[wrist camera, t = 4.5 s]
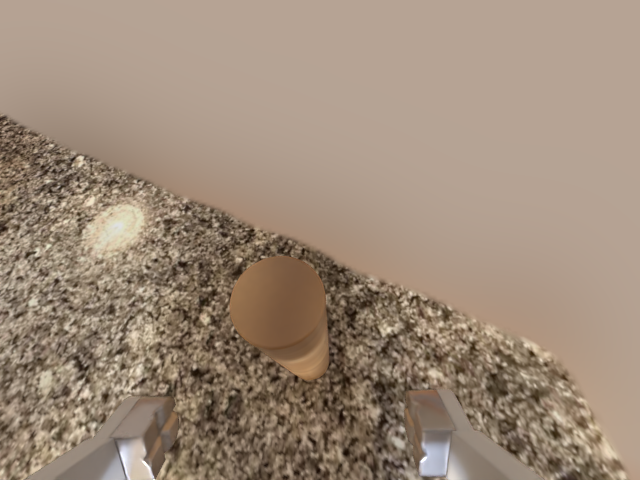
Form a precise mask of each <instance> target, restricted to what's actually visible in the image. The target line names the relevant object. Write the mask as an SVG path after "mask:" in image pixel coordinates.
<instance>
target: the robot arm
mask: <svg viewBox="0 0 640 480" xmlns="http://www.w3.org/2000/svg"><path fill="white" fill-rule="evenodd" d="M405 402H406V405H407V407H406V408H405V410H404V422H405V430H406V434H407V438H408V441H409V442H410V443H411V444H412V445H413V458H414V461H415V465H416V468H417V471H418V475H419V476H432V477H447V479H448V480H545V479H543V478H542V477H541V476H539V475H538V474H537V473H535V472H534V471H533V470H531V469H530V468H529V467H527V466H526V465H525V464H523V463H522V462H521V461H519V460H518V459H517V458H515V457H514V456H513V455H511V454H510V453H509V452H507V451H506V450H505V449H503V448H502V447H501V446H499V445H498V444H497V443H495V442H494V441H493V440H491V439H490V438H489V437H487V436H486V435H485V434H483V433H482V432H481V431H476V430H474V429H473V427H472V425H471V423H470V421H469V420H468V418H467V416H466V414H465V412H464V411H463V409H462V407H461V405H460V403H459V402H458V400H457V398H456V396H455V394H454V393H453V391H452V390H451V389H435V390H434V389H429V390H406V392H405ZM175 405H176V404H175V400H174V397H172V396H129V397H127V398H126V399H124V400H123V402H122V403H121V404H120V405H119V407H118V408H117V409H116V410H115V411H114V413H113V414H112V415H111V416H110V418H109V419H108V420H107V421H106V422H105V424H104V425H103V426H102V427H101V429H100V430H99V431H98V432H97V433H96V435H95V436H94V437H93V438H91V439H86V440H85V441H83V442H82V443H80V444H79V445H77V446H76V447H74V448H72V449H71V450H69V451H68V452H66V453H65V454H63V455H62V456H60V457H58V458H57V459H55V460H54V461H52V462H51V463H49V464H48V465H46V466H44V467H43V468H41V469H40V470H38V471H37V472H35V473H34V474H32V475H30V476H29V477H27V478H26V479H24V480H155V479H156V477H157V475H158V473H159V471H160V469H161V467H162V465H163V463H164V462H165V454H164V453H165V452H166V451H167V450H169V449H170V448H171V447H172V446H173V444H174V442H175V440H176V438H177V434H178V430H179V417H178V414H176V413H175V412H174V411H173V409H174V407H175Z"/></svg>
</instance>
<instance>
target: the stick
mask: <svg viewBox="0 0 640 480" xmlns="http://www.w3.org/2000/svg"><path fill="white" fill-rule="evenodd" d="M230 316H231V320H232V323H233V325H234V327H235V329H236V331H237V332H238V333H239V335H240V336H241V337H242V338H243V339H244V340H246V341H247V342H248V343H250V344H251V345H252V346H254V347H255V348H257V349H258V350H260V351H261V352H263V353H264V354H266V355H267V356H269V357H270V358H272V359H273V360H274V361H276V362H277V363H279V364H280V365H282V366H283V367H285V368H286V369H288V370H289V371H291V372H292V373H293V374H295V375H296V376H298V377H299V378H301V379H304V380H315V379H318V378H319V377H321V376H322V375H323V374H324V373H325V372H326V370H327V368H328V366H329V360H330V357H329V342H328V327H327V312H326V298H325V290H324V286H323V283H322V281H321V279H320V277H319V276H318V274H317V273H316V272H315V270H314V269H313V268H312V267H310V266H309V265H308V264H306V263H305V262H303V261H301V260H299V259H296V258H293V257H288V256H274V257H269V258H266V259H263V260H261V261H258V262H257V263H255V264H253V265H252V266H250V267H249V268H248V269H247V270H246V271H245V272H244V273H243V274H242V275H241V276H240V277H239V279H238V280H237V282H236V284H235V286H234V288H233V291H232V294H231V298H230Z"/></svg>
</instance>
